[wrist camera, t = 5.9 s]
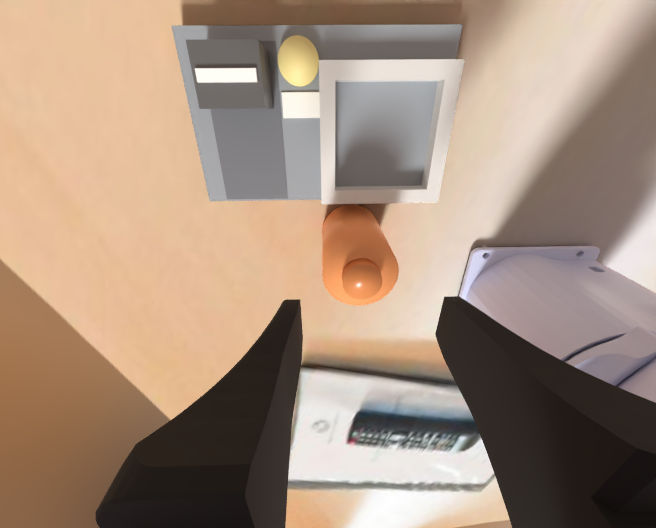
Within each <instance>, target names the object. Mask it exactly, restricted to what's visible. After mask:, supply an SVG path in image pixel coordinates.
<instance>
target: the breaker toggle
mask: <svg viewBox="0 0 656 528" xmlns="http://www.w3.org/2000/svg"><path fill="white" fill-rule="evenodd" d="M186 45H187V50H188V55H189V59H190V64H191V69H192V74H193V79H194V84H195V89H196V94H197V99H198V104H199V109H273V98H272V87H271V76H270V65H269V54H268V50H267V49H266V48H265V47H264V45H263V44H262V43H261V42H260V41H259V40H258V39H202V40H186Z"/></svg>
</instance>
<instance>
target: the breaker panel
mask: <svg viewBox="0 0 656 528" xmlns="http://www.w3.org/2000/svg"><path fill="white" fill-rule="evenodd" d="M462 25H463V24H432V25H187V26H172V30H173V35H174V39H175V44H176V49H177V53H178V58H179V62H180V67H181V71H182V76H183V81H184V85H185V90H186V94H187V99H188V104H189V108H190V113H191V117H192V122H193V126H194V131H195V136H196V140H197V145H198V149H199V154H200V159H201V163H202V168H203V172H204V177H205V181H206V186H207V191H208V195H209V200H210V201H256V200H321V201H322V204H378V203H438V199H439V194H440V189H441V183H442V178H443V173H444V167H445V162H446V157H447V151H448V146H449V141H450V136H451V130H452V125H453V120H454V114H455V109H456V104H457V98H458V93H459V88H460V82H461V77H462V72H463V66H464V61H465V59H457V54H458V48H459V42H460V37H461V31H462ZM202 39H258V40H259V41H260V42H261V43H262V44H263V45H264V47H265V48H266V49H267V50H268V54H269V65H270V76H271V87H272V98H273V109H199V104H198V99H197V94H196V89H195V84H194V79H193V74H192V69H191V64H190V59H189V55H188V50H187V45H186V40H202Z"/></svg>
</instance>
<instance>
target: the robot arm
mask: <svg viewBox="0 0 656 528" xmlns="http://www.w3.org/2000/svg"><path fill="white" fill-rule="evenodd" d="M578 252H579V253H578ZM484 253H487V254H486V255H485V256H483V254H484ZM577 253H578V254H577ZM599 254H600V249H599V248H597V247H595V246H547V247H485V248H475V249H473V250H472V251H471V253H470V257H469V261H468V264H467V268H466V272H465V275H464V279H463V283H462V286H461V290H460V294H459V297H444V301H443V305H442V309H441V313H440V317H439V322H438V326H437V330H436V338H437V341H438V344H439V347H440V349H441V352H442V355H443V357H444V359H445V362H446V364H447V366H448V368H449V370H450V372H451V374H452V376H453V378H454V380H455V381H456V383H457V385H458V387H459V389H460V391H461V393H462V395H463V397H464V399H465V401H466V403H467V405H468V407H469V409H470V411H471V413H472V416H473V418H474V420H475V423H476V425H477V428H478V430H479V433H480V435H481V438H482V440H483V443H484V446H485V448H486V451H487V454H488V456H489V459H490V462H491V465H492V467H493V470H494V473H495V476H496V479H497V482H498V485H499V488H500V491H501V494H502V497H503V500H504V503H505V506H506V509H507V512H508V515H509V518H510V521H511V525H512V528H656V293H654V292H652V291H651V290H649V289H647V288H645V287H643V286H641V285H640V284H638V283H636V282H634V281H632V280H630V279H629V278H627V277H625V276H623V275H621V274H619V273H617V272H616V271H614V270H612V269H610V268H608V267H606V266H605V265H603V264H601V263H599V262H597V261H596V259H597V258H598V256H599ZM302 340H303V335H302V321H301V306H300V300H284V301H283V302H282V304H281V306H280V308H279V310H278V311H277V313H276V314H275V316H274V317H273V319H272V320H271V322H270V323H269V325H268V326H267V328H266V329H265V330H264V332H263V333H262V335H261V336H260V337H259V338H258V340H257V341H256V342H255V343H254V345H253V346H252V347H251V348H250V350H249V351H248V352H247V353H246V354H245V355H244V356H243V358H242V359H241V360H240V361H239V362H238V363H237V364H236V365H235V366H234V367H233V368H232V369H231V370H230V371H229V372H228V373H227V374H226V375H225V376H224V377H223V378H222V379H221V380H220V381H219V382H218V383H217V384H216V385H214V386H213V387H212V388H211V389H210V390H209V391H208V392H206V393H205V394H204V395H203V396H202V397H200V398H199V399H198V400H197V401H195V402H194V403H193V404H192V405H190V406H189V407H188V408H187V409H185V410H184V411H183V412H182V413H180V414H179V415H178V416H176V417H175V418H174V419H172V420H171V421H169V422H168V423H166V424H165V425H164V426H162V427H161V428H159V429H158V430H156V431H155V432H153V433H152V434H150V435H149V436H148V437H146V438H145V439H143V440H142V441H140V442H139V443H137V444H136V445H135V446H134V448H133V450H132V451H131V453H130V454H129V456H128V457H127V458H126V460H125V461H124V463H123V465H122V466H121V468H120V470H119V472H118V473H117V475H116V477H115V479H114V480H113V482H112V484H111V486H110V488H109V489H108V491H107V493H106V495H105V496H104V498H103V500H102V502H101V504H100V505H99V507H98V509H97V511H96V522H97V524H98V526H99V527H100V528H285V521H286V504H287V486H288V470H289V455H290V440H291V426H292V417H293V410H294V404H295V397H296V391H297V385H298V379H299V373H300V366H301V360H302Z"/></svg>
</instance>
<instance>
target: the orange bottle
mask: <svg viewBox="0 0 656 528" xmlns="http://www.w3.org/2000/svg"><path fill="white" fill-rule="evenodd" d="M322 257H323V281H324V285H325V287H326V289H327V291H328V292H329V293H330V294H331V295H332V296H333V297H334V298H335V299H337V300H339V301H341V302H343V303H346V304H349V305H366V304H371V303H374V302H376V301H378V300H380V299H382V298H383V297H385V296H386V295H387V294H388V293H389V292H390V291H391V290H392V288H393V287H394V285H395V283H396V281H397V278H398V272H399V269H398V263H397V260H396V258H395V256H394V254H393V252H392V250H391V248H390V246H389V244H388V242H387V240H386V238H385V236H384V234H383V232H382V230H381V228H380V226H379V224H378V222H377V220H376V218H375V217H374V215H373V214H372V213H371V212H370V211H369V210H368V209H366V208H365V207H362V206H360V205H355V204H348V205H343V206H340V207H338V208H336V209H335V210H333V211H332V212H331V213H330V214H329V215H328V216H327V218H326V219H325V221H324V224H323V228H322Z"/></svg>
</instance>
